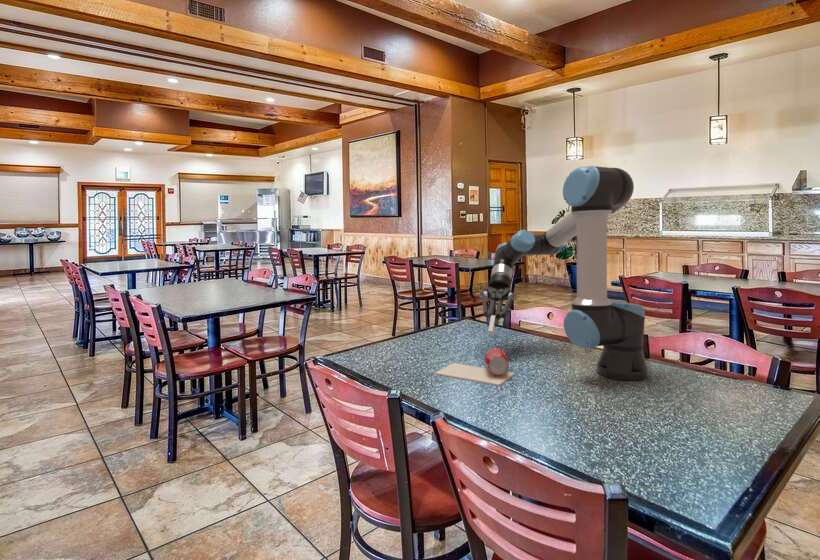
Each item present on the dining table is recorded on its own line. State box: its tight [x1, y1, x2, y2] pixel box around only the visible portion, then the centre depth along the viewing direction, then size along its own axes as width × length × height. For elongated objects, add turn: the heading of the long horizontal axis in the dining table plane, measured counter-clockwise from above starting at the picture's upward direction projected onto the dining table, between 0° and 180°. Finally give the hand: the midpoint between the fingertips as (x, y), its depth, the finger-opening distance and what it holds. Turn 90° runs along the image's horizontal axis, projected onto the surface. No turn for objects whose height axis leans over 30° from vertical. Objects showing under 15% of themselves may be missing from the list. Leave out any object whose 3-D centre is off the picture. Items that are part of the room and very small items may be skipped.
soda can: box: [484, 347, 510, 375], centre depth 161 cm, size 7×7×12 cm
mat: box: [434, 362, 515, 387], centre depth 161 cm, size 22×13×1 cm, turn 58°
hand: (490, 333), depth 172 cm, fingers closed
